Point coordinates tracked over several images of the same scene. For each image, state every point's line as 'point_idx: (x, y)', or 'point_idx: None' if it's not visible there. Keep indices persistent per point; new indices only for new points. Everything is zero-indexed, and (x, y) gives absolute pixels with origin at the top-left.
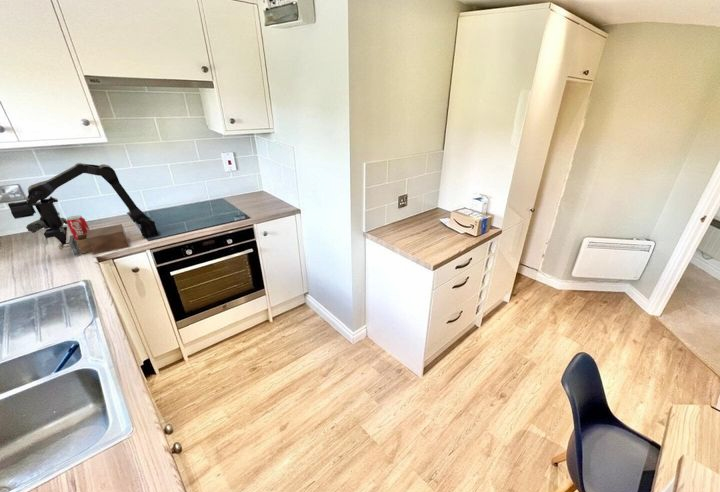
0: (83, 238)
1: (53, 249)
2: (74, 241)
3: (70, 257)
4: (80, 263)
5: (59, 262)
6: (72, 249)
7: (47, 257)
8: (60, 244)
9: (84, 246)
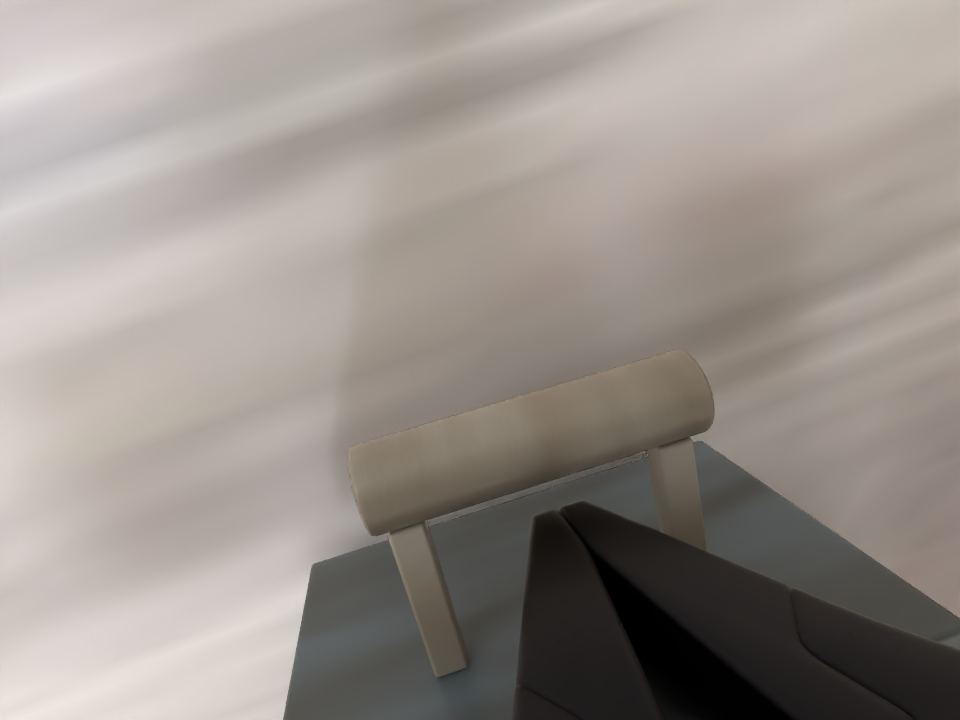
0: None
1: (897, 20)
2: None
3: None
4: (17, 702)
5: (172, 355)
6: (290, 689)
7: (529, 37)
8: (570, 443)
9: None
